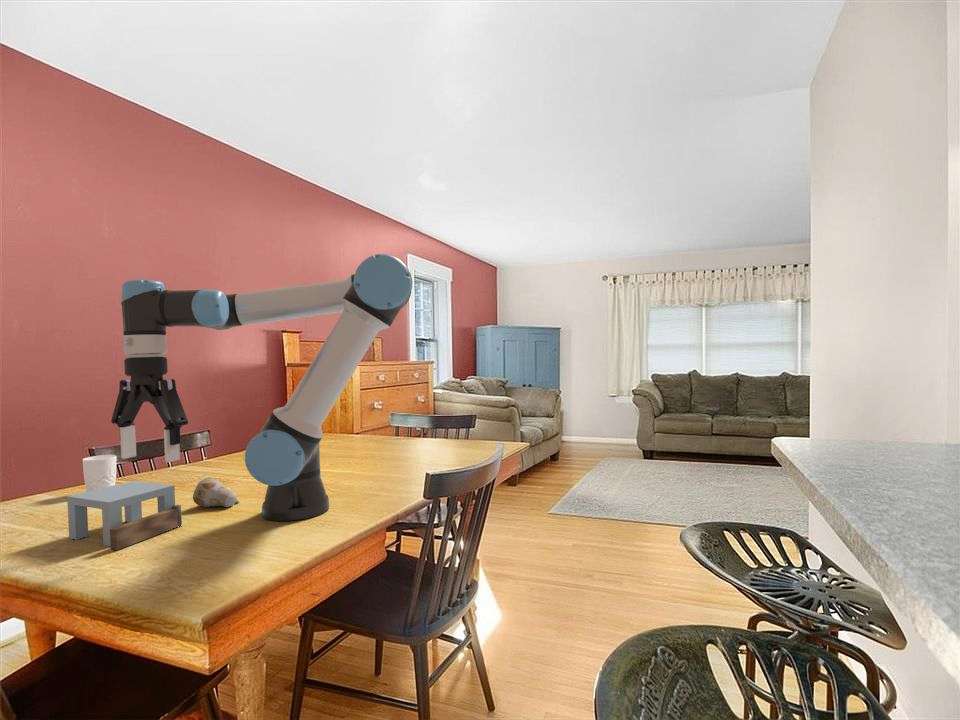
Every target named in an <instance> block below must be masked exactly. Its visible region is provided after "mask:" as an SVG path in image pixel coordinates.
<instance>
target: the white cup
mask: <svg viewBox="0 0 960 720" xmlns="http://www.w3.org/2000/svg"><path fill="white" fill-rule="evenodd" d="M117 458H118V457H117V455H115V454H103V455H101V454H100V455H94V456H93V455H92V456H87V457H84V458H82V468H83V469H82V471H83V477H84V478H83V479H84V485H85V492H88V491H92V490H97V489H101V488H105V487H109V486H114V485H116V480H117V460H118V459H117Z"/></svg>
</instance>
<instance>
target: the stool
mask: <svg viewBox="0 0 960 720" xmlns="http://www.w3.org/2000/svg"><path fill="white" fill-rule="evenodd" d="M175 490H176V489H175V485H173V484H167V483H166V484H165V483H157V482H148V481H140V480H131V481H127V482H126V481H125V482H123V483H118V484H115V485H114V486H109V487H105V488H101V489H97V490H92V491H88V492H86V491H84V492H81V493H77V494H73V495H72V494H71V495H68V496H67V498H66V499H67V502H66V503H67V517H68V518H67V520H68V539H69V540H72V539H75V540H74V541H78V540H81V539H80V538H82V539H84V538H83V537H85V538H87V536H88V537H89V521H88V520H89V519H88V508H91V509H97V510H98V509H99V510H101V516H102V517H101V518H102V519H101V520H102V541H103V542H102V543H103V546H104V547H108V546H110V529H111V528H114V527H117V526H120V525H123V508H124V522H125V521H127V522H126V523H128V522H132V521H135V520H138V519H141V518H143V512H142V511H143V510H142V508H143V507H142V506H143V505H142V502H145V501H148V500H152V499H156V498H157V513H159V512H162V511H165V510H168V509H171V508H172V506H174V505H176V492H175ZM77 539H78V540H77ZM109 548H111V546H110V547H109Z"/></svg>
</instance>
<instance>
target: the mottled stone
mask: <svg viewBox="0 0 960 720" xmlns="http://www.w3.org/2000/svg"><path fill="white" fill-rule="evenodd" d="M193 491H194V492H193V495H192V500H193V502H194V503H195V504H196V505H197V506H199V507H204V508H211V507H210V506H212V507H225V508H227V507H228V508H231V507H232V506H234V505H235V504H239V502H240V503H241V501H240V500H239V499H238V496H237V493H236V492H234V491H233V490H230V489H228V488H227V487H225V485H224V484H223V483H221V481H219V480H218V479H216V478H213V477H207V478H206V477H205V478H203V479H201V480H200V481H199V482H198V483H197V485H196V486H195V489H194V490H193ZM230 506H231V507H230Z"/></svg>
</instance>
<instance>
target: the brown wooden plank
mask: <svg viewBox="0 0 960 720" xmlns="http://www.w3.org/2000/svg"><path fill="white" fill-rule="evenodd" d="M182 519H183V518H182V504H175V505H174V506H172V508H171V509H168V510H165V511H162V512H159V513H158V512H156V513H153V514H150V515H147V516H144V517H142V518H141V519H138V520H135V521H132V522H129V523H128V522H125V523H124V524H123V523H122V525H120V526H117V527H114V528H111V529H110V546H111V547H110V550H114V551H119V550H121V549H124V548H127V547H129V546H131V545H134V544H137V543H139V542H142V541H145V540H148V539H150V538H152V537H156V536H157V535H161V534H163V533H166V532H169V531H171V530H174V529H177V528H176V527H178V526H181V525H182ZM181 527H182V526H181ZM173 528H174V529H173ZM168 530H169V531H168ZM165 531H166V532H165ZM160 533H161V534H160Z"/></svg>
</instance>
